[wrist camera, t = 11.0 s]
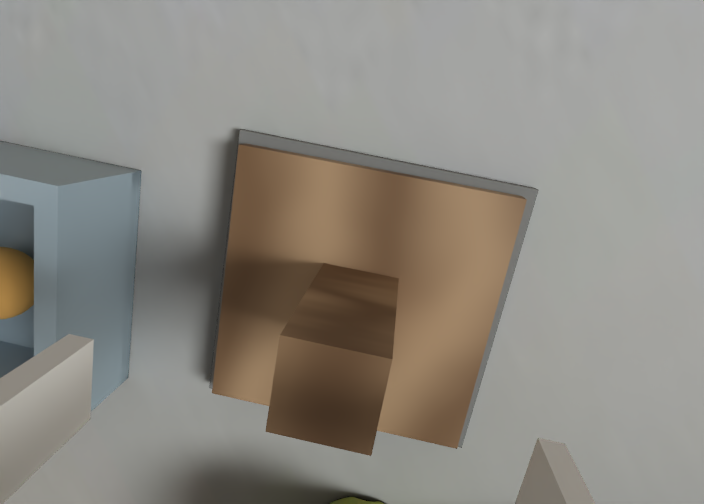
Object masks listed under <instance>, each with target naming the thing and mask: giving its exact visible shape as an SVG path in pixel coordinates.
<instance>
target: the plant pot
mask: <svg viewBox="0 0 704 504" xmlns="http://www.w3.org/2000/svg"><path fill="white" fill-rule="evenodd" d="M330 504H384V503H382V502H379V501H377V502H370V501H365V500H360V499H357V498H355V497H347V498H342V499H339V500H336V501H334V502H332V503H330Z"/></svg>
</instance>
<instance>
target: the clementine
mask: <svg viewBox="0 0 704 504" xmlns="http://www.w3.org/2000/svg"><path fill="white" fill-rule="evenodd" d="M33 305H34V260H33V259H32V258H31V257H30V256H28V255H27V254H25V253H23V252H21V251H19V250H16V249H13V248H8V247H0V319H7V318H12V317H15V316H17V315H20V314H22V313H23V312H25V311H27V310H28V309H29V308H30V307H32V306H33Z"/></svg>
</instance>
